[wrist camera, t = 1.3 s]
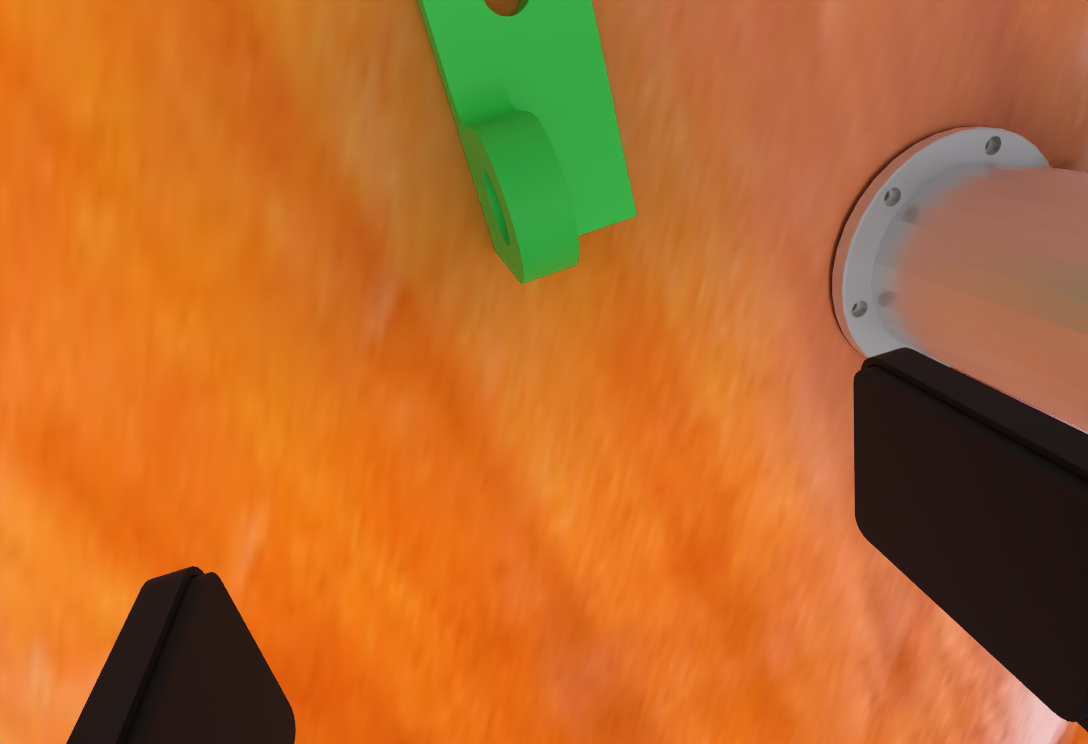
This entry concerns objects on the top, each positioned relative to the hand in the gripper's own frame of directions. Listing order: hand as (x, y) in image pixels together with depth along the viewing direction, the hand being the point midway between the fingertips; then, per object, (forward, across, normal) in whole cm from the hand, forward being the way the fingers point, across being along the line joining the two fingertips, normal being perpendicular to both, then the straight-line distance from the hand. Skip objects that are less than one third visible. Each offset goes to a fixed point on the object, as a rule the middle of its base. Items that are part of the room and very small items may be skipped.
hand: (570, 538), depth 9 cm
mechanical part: (+21, -5, -5) cm, 22 cm away
